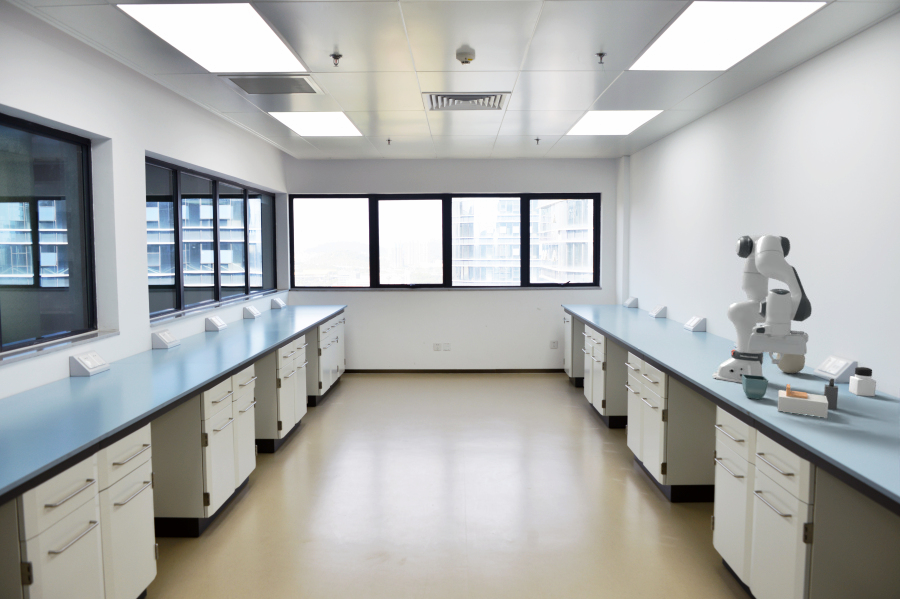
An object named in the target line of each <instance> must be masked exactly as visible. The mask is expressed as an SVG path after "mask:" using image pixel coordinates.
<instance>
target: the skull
mask: <svg viewBox="0 0 900 599" xmlns="http://www.w3.org/2000/svg"><path fill="white" fill-rule="evenodd" d="M779 358H780V353H776V358H775V359H779ZM805 362H806V356H805V355H796V354H785V353H784V356H783V358H782V359H781V360H780V364H776V366H777V368H778V369H779V370H780V371H782V372H784V373H786V374H787V373H788V374H796V373H799V372H801V371H803V369H804V368H805Z"/></svg>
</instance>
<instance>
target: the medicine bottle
mask: <svg viewBox="0 0 900 599" xmlns="http://www.w3.org/2000/svg"><path fill="white" fill-rule="evenodd" d="M872 377H873V370H872V368H870V367H865V366H857V367H855V368H854V376H853V375H852V376H851V375H850V376H849V385H848V392H849V393H852V394H853V395H856V396H860V397H861V396H862V397H865V396H867V397H875V396H876V386H877V380H875V379H873V378H872Z"/></svg>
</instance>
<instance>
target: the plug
mask: <svg viewBox="0 0 900 599" xmlns="http://www.w3.org/2000/svg"><path fill="white" fill-rule="evenodd" d="M823 389H824V391H823V396H826V398H827V401H828V410H832V409H834V410H833V411H837V407H838V398H839V397H838V396H839V395H838V394H839V387H838V385H835V378H829V382H828V384H826V383H825V384H824V388H823Z"/></svg>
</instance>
